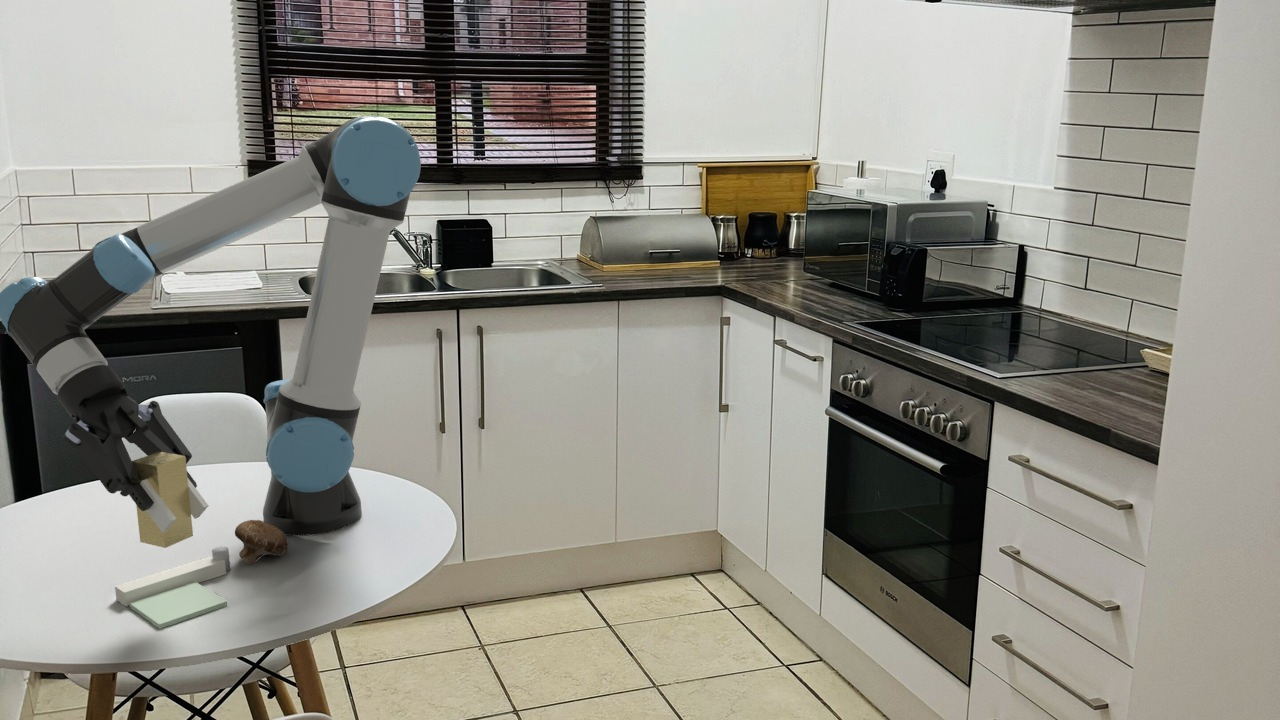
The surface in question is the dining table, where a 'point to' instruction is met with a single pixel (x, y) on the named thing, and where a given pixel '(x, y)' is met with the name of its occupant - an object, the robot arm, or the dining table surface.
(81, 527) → the dining table surface
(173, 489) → the block
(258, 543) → the mushroom
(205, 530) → the dining table surface
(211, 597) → the plate
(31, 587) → the dining table surface
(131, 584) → the door edge
